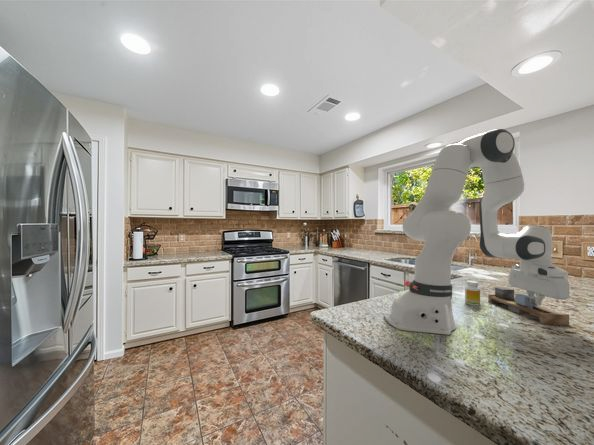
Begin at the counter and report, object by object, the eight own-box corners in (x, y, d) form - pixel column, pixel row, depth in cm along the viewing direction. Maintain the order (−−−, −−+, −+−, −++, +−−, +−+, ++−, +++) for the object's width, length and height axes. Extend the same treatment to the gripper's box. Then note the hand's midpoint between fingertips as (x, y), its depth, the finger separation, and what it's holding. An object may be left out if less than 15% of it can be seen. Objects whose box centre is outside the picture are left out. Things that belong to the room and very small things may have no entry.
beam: (543, 324, 84) (543, 304, 84) (488, 301, 109) (488, 286, 109) (569, 324, 84) (569, 304, 84) (508, 302, 109) (508, 286, 109)
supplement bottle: (482, 306, 102) (482, 283, 103) (468, 305, 104) (468, 282, 104) (476, 302, 108) (476, 280, 108) (462, 301, 109) (462, 279, 109)
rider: (524, 308, 94) (524, 297, 94) (515, 305, 98) (515, 294, 98) (537, 308, 93) (537, 297, 94) (527, 305, 97) (527, 294, 98)
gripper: (504, 263, 102) (504, 295, 102) (555, 273, 82) (554, 313, 82) (519, 263, 102) (519, 296, 102) (573, 273, 82) (573, 314, 82)
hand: (535, 304), depth 92 cm, fingers closed
